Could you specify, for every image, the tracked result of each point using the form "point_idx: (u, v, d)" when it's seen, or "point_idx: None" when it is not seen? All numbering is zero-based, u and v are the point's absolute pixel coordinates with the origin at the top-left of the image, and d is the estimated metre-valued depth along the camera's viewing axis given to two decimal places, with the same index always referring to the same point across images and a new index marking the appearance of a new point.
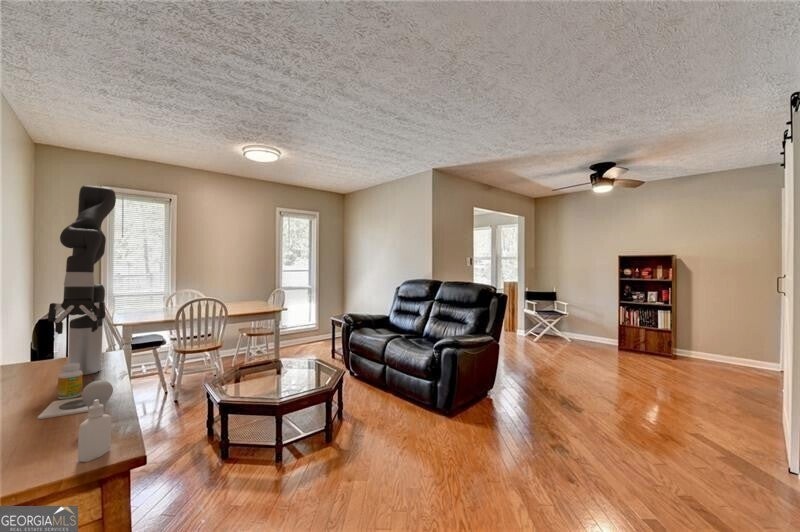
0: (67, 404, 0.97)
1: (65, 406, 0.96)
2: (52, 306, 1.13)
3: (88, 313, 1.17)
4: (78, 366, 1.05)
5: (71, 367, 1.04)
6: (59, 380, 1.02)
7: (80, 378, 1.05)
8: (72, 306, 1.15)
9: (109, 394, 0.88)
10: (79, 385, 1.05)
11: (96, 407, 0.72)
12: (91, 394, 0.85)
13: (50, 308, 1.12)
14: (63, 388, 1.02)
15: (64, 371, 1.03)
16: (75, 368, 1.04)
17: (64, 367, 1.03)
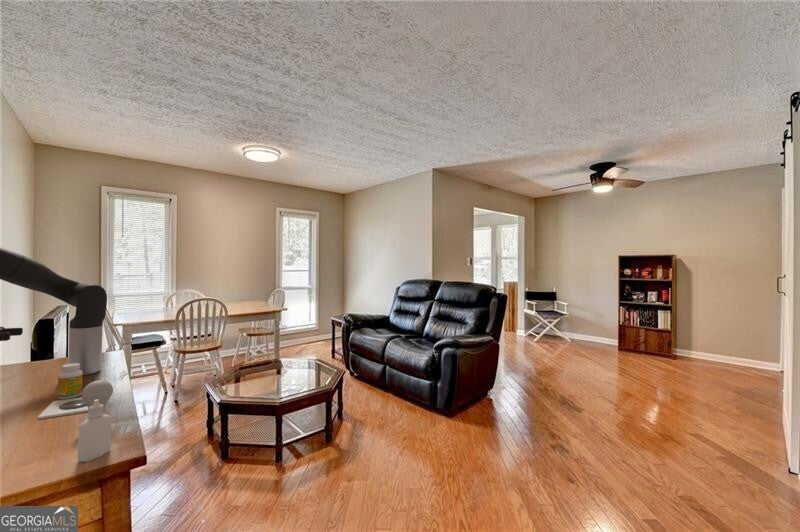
0: (67, 404, 0.97)
1: (65, 406, 0.96)
2: None
3: None
4: (78, 366, 1.05)
5: (71, 367, 1.04)
6: (59, 380, 1.02)
7: (80, 378, 1.05)
8: None
9: (109, 394, 0.88)
10: (79, 385, 1.05)
11: (96, 407, 0.72)
12: (91, 394, 0.85)
13: None
14: (63, 388, 1.02)
15: (64, 371, 1.03)
16: (75, 368, 1.04)
17: (64, 367, 1.03)
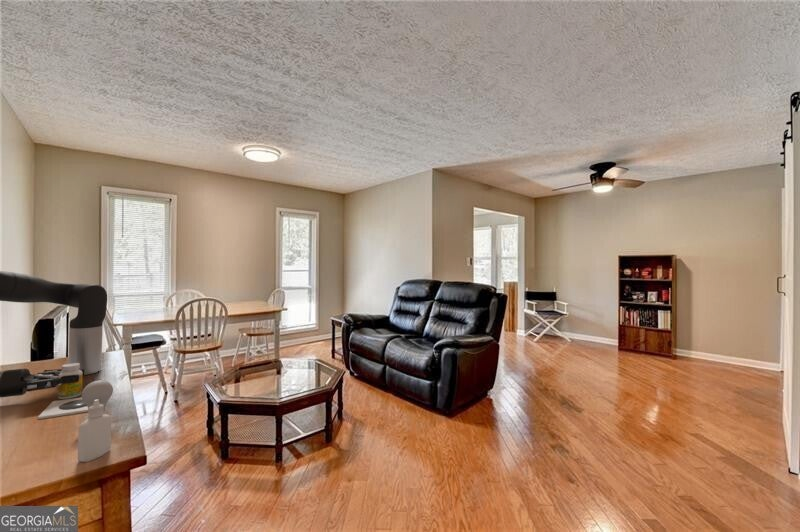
0: (67, 404, 0.97)
1: (65, 406, 0.96)
2: None
3: None
4: (78, 366, 1.05)
5: (71, 367, 1.04)
6: None
7: (80, 378, 1.05)
8: None
9: (109, 394, 0.88)
10: (79, 385, 1.05)
11: (96, 407, 0.72)
12: (91, 394, 0.85)
13: None
14: (63, 388, 1.02)
15: (64, 371, 1.03)
16: (75, 368, 1.04)
17: (64, 367, 1.03)
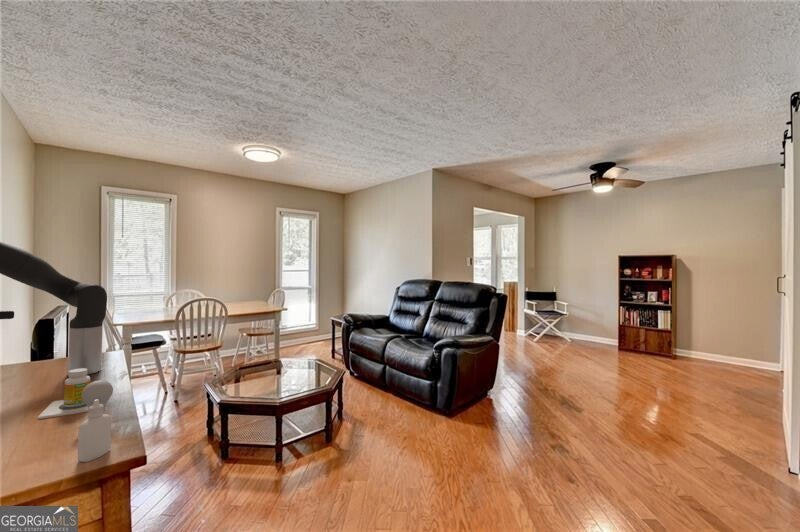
0: None
1: None
2: None
3: None
4: (86, 372, 0.98)
5: (78, 373, 0.96)
6: (65, 387, 0.95)
7: None
8: None
9: (109, 394, 0.88)
10: None
11: (96, 407, 0.72)
12: (91, 394, 0.85)
13: None
14: (70, 395, 0.95)
15: (71, 377, 0.96)
16: (83, 373, 0.97)
17: (71, 373, 0.96)
